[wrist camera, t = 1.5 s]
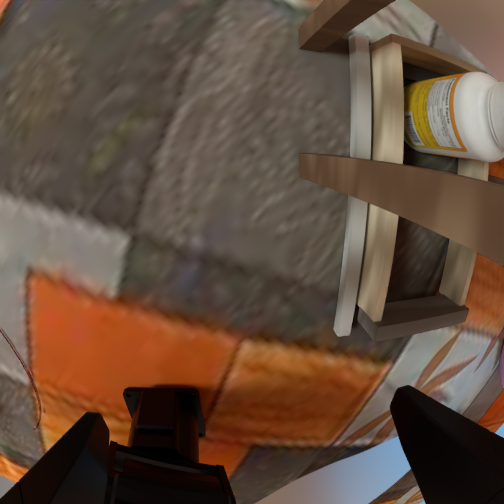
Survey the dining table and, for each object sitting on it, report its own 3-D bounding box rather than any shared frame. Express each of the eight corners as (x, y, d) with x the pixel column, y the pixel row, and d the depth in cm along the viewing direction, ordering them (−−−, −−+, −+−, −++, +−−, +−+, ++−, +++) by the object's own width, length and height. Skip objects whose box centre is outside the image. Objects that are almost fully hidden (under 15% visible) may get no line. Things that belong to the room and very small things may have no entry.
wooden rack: (440, 302, 24) (465, 321, 20) (353, 315, 23) (374, 342, 19) (462, 75, 17) (493, 72, 14) (368, 45, 16) (397, 30, 13)
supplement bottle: (452, 106, 18) (549, 107, 9) (435, 165, 20) (535, 187, 11) (402, 69, 17) (503, 46, 8) (383, 132, 19) (490, 135, 9)
